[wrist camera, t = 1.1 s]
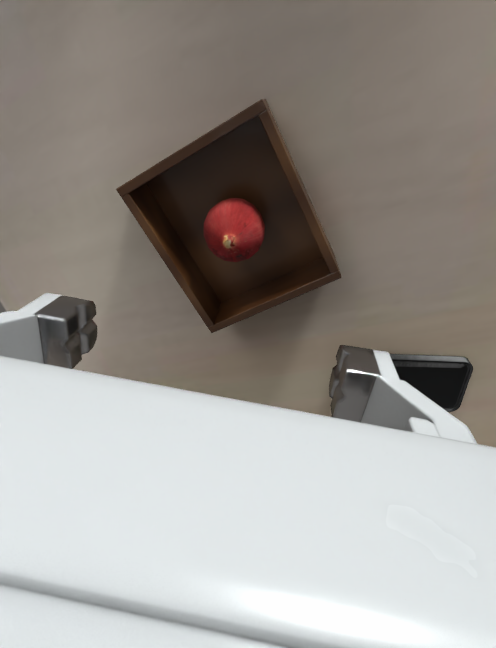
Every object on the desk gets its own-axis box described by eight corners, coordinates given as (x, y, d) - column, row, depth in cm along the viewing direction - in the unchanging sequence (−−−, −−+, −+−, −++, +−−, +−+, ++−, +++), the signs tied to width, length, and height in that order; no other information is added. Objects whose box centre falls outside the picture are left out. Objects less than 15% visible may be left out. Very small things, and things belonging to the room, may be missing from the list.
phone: (344, 357, 46) (475, 362, 44) (343, 352, 47) (471, 357, 45) (337, 407, 50) (457, 413, 48) (336, 401, 51) (454, 406, 49)
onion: (273, 238, 40) (270, 267, 33) (222, 253, 41) (209, 284, 34) (256, 183, 37) (249, 201, 30) (202, 201, 39) (184, 222, 32)
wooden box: (136, 178, 38) (115, 189, 34) (265, 98, 34) (262, 98, 29) (219, 309, 45) (211, 333, 41) (335, 257, 41) (341, 277, 36)
